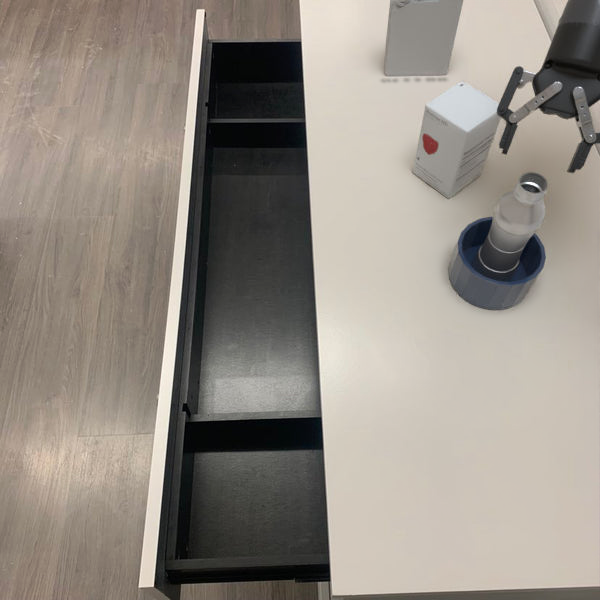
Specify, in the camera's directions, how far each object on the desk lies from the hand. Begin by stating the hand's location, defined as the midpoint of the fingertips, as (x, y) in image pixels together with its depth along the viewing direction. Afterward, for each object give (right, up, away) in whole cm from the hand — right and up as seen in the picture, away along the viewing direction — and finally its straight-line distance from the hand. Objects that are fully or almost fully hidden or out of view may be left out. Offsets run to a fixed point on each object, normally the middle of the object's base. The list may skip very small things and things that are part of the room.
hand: (536, 163), depth 69 cm
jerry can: (-8, +30, +42) cm, 53 cm away
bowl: (-1, -14, +14) cm, 20 cm away
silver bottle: (-1, -14, +14) cm, 20 cm away
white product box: (-5, +5, +26) cm, 27 cm away
